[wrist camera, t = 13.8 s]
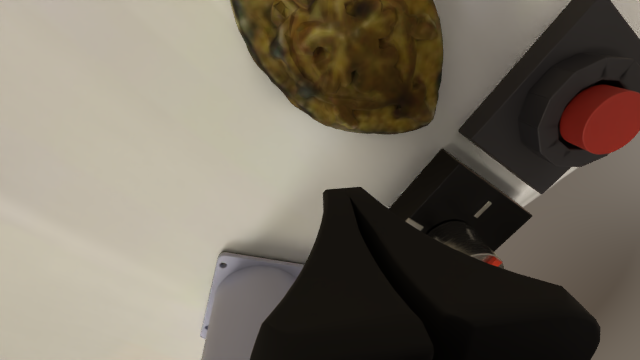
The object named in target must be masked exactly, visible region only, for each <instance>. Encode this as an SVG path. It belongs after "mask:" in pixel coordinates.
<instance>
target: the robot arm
mask: <svg viewBox="0 0 640 360" xmlns="http://www.w3.org/2000/svg"><path fill="white" fill-rule="evenodd" d="M323 211H324V212H323V217H322V222H321V226H320V229H319V232H318V235H317V238H316V241H315V243H314V246H313V248H312V250H311V253H310V255H309V257H308V259H307V261H306V263H305V265H304V264H297V263H291V262H285V261H278V260H272V259H266V258H259V257H253V256H247V255H240V254H234V253H228V252H223V253H220V254H219V256H218V260H217V264H216V268H215V273H214V277H213V282H212V286H211V290H210V295H209V299H208V303H207V308H206V312H205V317H204V321H203V325H202V330H201V334H200V335H201V337H202V338H204V339H206V340H205V344H204V349H203V354H202V359H201V360H591V358H592V356H593V354H594V353H595V351H596V349H597V347H598V344H599V342H600V326H599V324H598V323H597V321H596V319H595V318H594V317H593V316H592V315H591V314H590V313H589V312H588V311H587V310H586V309H585V308H584V307H583V306H582V305H581V304H580V303H579V302H578V301H577V300H576V299H575V298H574V297H572V296H571V295H570V294H569V293H568V292H567V291H566V290H565V289H564V288H563V287H562V286H559V285H555V284H552V283H548V282H545V281H541V280H538V279H534V278H531V277H527V276H524V275H520V274H517V273H514V272H511V271H508V270H505V269H503V268H500V267H497V266H494V265H491V264H488V263H486V262H483V261H481V260H478V259H476V258H473V257H471V256H469V255H467V254H464V253H462V252H460V251H457V250H455V249H453V248H451V247H449V246H447V245H445V244H443V243H441V242H439V241H437V240H435V239H434V238H432V237H430V236H428V235H426V234H425V233H423V232H421V231H420V230H418V229H416V228H415V227H413V226H412V225H410V224H409V223H407V222H406V221H404V220H403V219H401V218H400V217H398V216H397V215H396V214H394V213H393V212H392V211H390V210H389V209H388V208H386V207H385V206H384V205H382V204H381V203H380V202H379V201H377V200H376V199H375V198H374V197H373V196H371V195H370V194H369V193H368V192H366V191H365V190H364V189H363V188H361V187H353V188H341V189H329V190H325V191H324V192H323ZM221 263H226V264H221Z"/></svg>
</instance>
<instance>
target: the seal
mask: <svg viewBox="0 0 640 360" xmlns="http://www.w3.org/2000/svg"><path fill="white" fill-rule="evenodd" d="M230 2H231V6H232V10H233V14H234V17H235V20H236V24H237V26H238V29H239V31H240V33H241V35H242V37H243V39H244V41H245V43H246V45H247V48H248V51H249V53H250V55H251V57H252V58H253V60H254V62H255V63H256V64H257V65H258V67H259V68H260V69H261V70H263V72H264V73H265V74H266V75H267V76H268V77H269V78H270V80H271V81H272V82H273V83H274V84H275V85H276V86H277V87H278V88H279V89H280V90H281V91H282V92H283V93H284V94H285V96H286V97H287V98H288V100H289V101H290V102H291V103H292V104H293V105H294V106H295V107H297V108H299V109H300V110H302V111H303V112H305V113H306V114H308V115H309V116H311V117H312V118H313V119H314V120H316V121H318V122H320V123H322V124H324V125H326V126H330V127H333V128H335V129H340V130H344V131H349V132H356V133H365V134H372V133H375V134H398V133H405V132H409V131H413V130H417V129H419V128H422V127H424V126H427V125H428V124H429V123H430V122H431V121H432V120H433V118H434V114H435V110H436V105H437V101H438V90H439V87H440V83H441V76H442V64H443V40H442V32H441V25H440V19H439V16H438V13H437V10H436V7H435V4H434V2H433V0H230Z"/></svg>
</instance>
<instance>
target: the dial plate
mask: <svg viewBox="0 0 640 360" xmlns="http://www.w3.org/2000/svg"><path fill="white" fill-rule="evenodd" d="M389 210H390V211H392V212H393V213H394V214H396V215H397V216H398V217H400V218H401V219H403V220H404V221H406V222H407V223H409V224H410V225H412V226H413V227H415V228H416V229H418V230H420V231H421V232H423V233H425V234H426V235H427V234H428V233H429V232H430V231H431V230H432V229H434V228H435V227H437V226H438V225H440V224H443V223H445V222H449V221H461V222H465V223H467V224H469V225H470V226H471V227H472V228H473V229H474V230H475V231H476V233H477V234H478V235H479V236H480V237H481V238H482V239H483V240H484V242H485V243H486V244H487V245H488V246H489V247H490V248H491V249H492V251H493V252H494V251H495V250H496V249H497V248H498V247H499V246H501V244H503V243H504V242H505V241H506V240H507V239H508V238H509V237H510V236H511V235H512V234H513V233H515V232H516V231H517V230H518V229H519V228H520V227H521V226H522V225H523V224H524V223H526V222H527V221H528V220H529V219H530V218H531V217H532V215H531V214H530V213H529V212H528V211H526V210H525V209H524V208H523V207H522V206H520V205H519V204H518V203H517V202H515V201H514V200H513V199H512V198H510V197H509V196H508V195H506V194H505V193H503V192H502V191H501V190H499V189H498V188H496V187H495V186H494V185H492V184H491V183H490V182H488V181H487V180H485V179H484V178H483V177H481V176H480V175H478V174H477V173H476V172H474V171H473V170H472V169H470V168H469V167H467V166H466V165H465V164H463V163H462V162H460V161H459V160H458V159H456V158H455V157H454V156H452V155H451V154H449V153H448V152H447V151H445V150H444V149H441V151H440V152H439V153H438V154H437V155H436V156H435V157H434V159H433V160H432V161H431V162H430V163H429V164H428V165H427V167H426V168H425V169H424V170H423V171H422V172H421V173H420V175H419V176H418V177H417V178H416V179H415V180H414V181H413V183H412V184H411V185H410V186H409V187H408V188H407V189H406V191H405V192H404V193H403V194H402V195H401V196H400V197H399V199H398V200H397V201H396V202H395V203H394V204H393V205H392V207H391V208H390V209H389Z"/></svg>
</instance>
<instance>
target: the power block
mask: <svg viewBox="0 0 640 360" xmlns="http://www.w3.org/2000/svg"><path fill="white" fill-rule="evenodd" d="M600 84H605V85H610V86H614V87H619V88H623V89H627V90H631V91H635V92H638V93H640V39H639V38H638V37H637V35H636V34H635V33H634V31H633V30H632V29H631V27H630V26H629V25H628V23H627V22H626V21H625V19H624V18H623V17H622V16H621V14H620V13H619V12H618V10H617V9H616V8H615V6H614V5H613V4H612V2H611V1H610V0H572V2H571V3H570V4H569V5H568V6H567V7H566V8H565V10H564V11H563V12H562V13H561V14H560V15H559V16H558V18H557V19H556V20H555V21H554V22H553V23H552V24H551V26H550V27H549V28H548V29H547V30H546V31H545V32H544V34H543V35H542V36H541V37H540V38H539V39H538V40H537V42H536V43H535V44H534V45H533V46H532V47H531V48H530V50H529V51H528V52H527V53H526V54H525V55H524V56H523V58H522V59H521V60H520V61H519V62H518V63H517V64H516V66H515V67H514V68H513V69H512V70H511V71H510V72H509V74H508V75H507V76H506V77H505V78H504V79H503V80H502V82H501V83H500V84H499V85H498V86H497V87H496V88H495V90H494V91H493V92H492V93H491V94H490V95H489V96H488V98H487V99H486V100H485V101H484V102H483V103H482V104H481V106H480V107H479V108H478V109H477V110H476V111H475V112H474V114H473V115H472V116H471V117H470V118H469V119H468V120H467V122H466V123H465V124H464V125H463V126H462V127H461V128H460V129H459V132H460V133H461V134H462V135H464V136H465V137H466V138H468V139H469V140H470V141H471V142H473V143H474V144H475V145H477V146H478V147H479V148H481V149H482V150H483V151H484V152H486V153H487V154H488V155H490V156H491V157H492V158H494V159H495V160H496V161H497V162H499V163H500V164H501V165H503V166H504V167H505V168H507V169H508V170H509V171H510V172H512V173H513V174H514V175H516V176H517V177H518V178H520V179H521V180H522V181H523V182H525V183H526V184H527V185H529V186H530V187H532V188H533V189H535V190H536V191H537V192H539V193H540V194H543V193H544V192H545V191H546V190H547V189H548V188H549V187H550V186H552V185H553V184H554V183H555V182H556V181H557V180H558V179H559V178H560V177H561V176H562V175H563V174H564V173H565V172H566V171H567V170H569V169H570V168H571V167H582V166H584V165H586V164H589V163H591V162H593V161H596V160H598V159H600V158H602V157H605V156H607V155H608V154H609V153H607V154H593V153H590V152H588V151H586V150H584V149H582V148H580V147H577V146H575V145H573V144H571V143H569V142H567V141H565V140H564V139H563V137H562V136H561V134H560V130H559V123H560V118H561V116H562V113H563V111H564V109H565V108H566V106H567V105H568V103H569V102H570V101H571V100H572V99H573V98H574V97H575V96H576V95H577V94H579V93H580V92H581V91H583V90H585V89H587V88H589V87H591V86H595V85H600Z"/></svg>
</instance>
